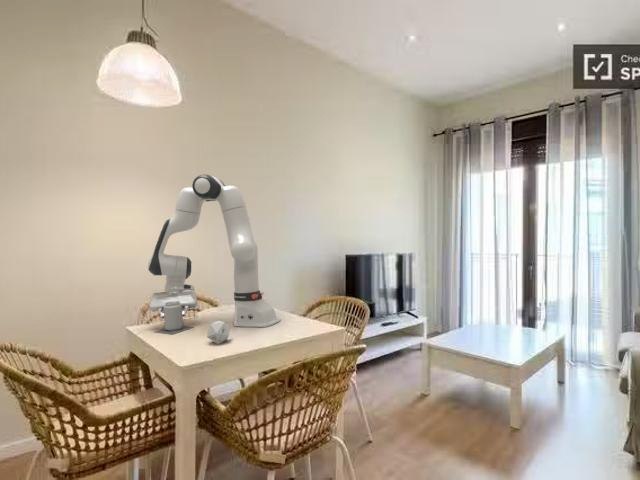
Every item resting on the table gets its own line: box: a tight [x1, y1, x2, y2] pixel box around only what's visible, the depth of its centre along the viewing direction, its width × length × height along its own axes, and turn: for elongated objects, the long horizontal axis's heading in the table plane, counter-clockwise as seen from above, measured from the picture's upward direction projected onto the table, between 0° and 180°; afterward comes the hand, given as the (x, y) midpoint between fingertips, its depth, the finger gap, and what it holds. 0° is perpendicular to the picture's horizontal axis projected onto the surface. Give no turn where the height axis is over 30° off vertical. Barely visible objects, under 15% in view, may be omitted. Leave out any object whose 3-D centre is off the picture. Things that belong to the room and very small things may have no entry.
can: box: [163, 301, 184, 331], centre depth 159 cm, size 8×8×12 cm
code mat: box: [153, 325, 194, 336], centre depth 159 cm, size 12×12×1 cm
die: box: [206, 320, 231, 345], centre depth 138 cm, size 8×9×10 cm
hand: (173, 316), depth 159 cm, fingers closed on can, 7 cm apart
